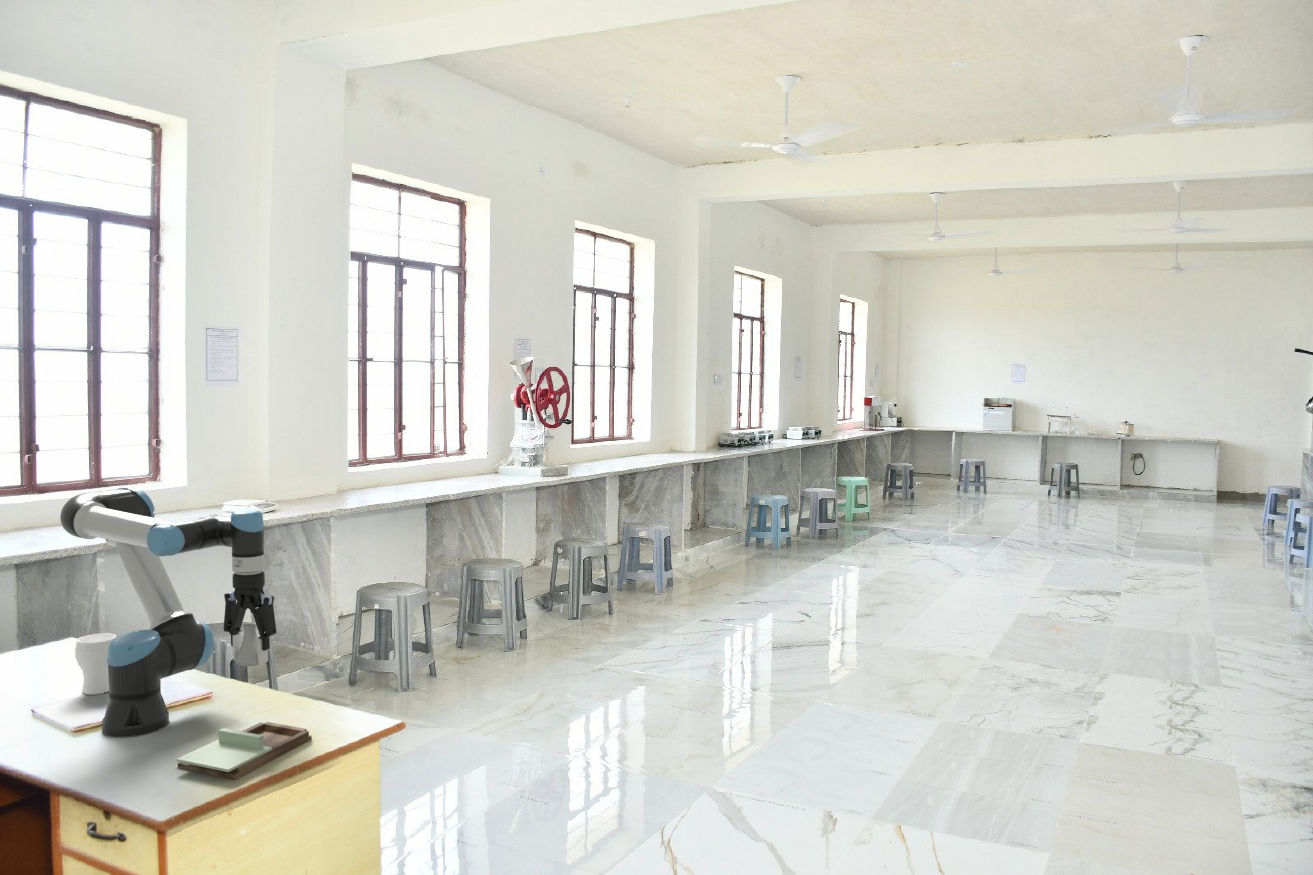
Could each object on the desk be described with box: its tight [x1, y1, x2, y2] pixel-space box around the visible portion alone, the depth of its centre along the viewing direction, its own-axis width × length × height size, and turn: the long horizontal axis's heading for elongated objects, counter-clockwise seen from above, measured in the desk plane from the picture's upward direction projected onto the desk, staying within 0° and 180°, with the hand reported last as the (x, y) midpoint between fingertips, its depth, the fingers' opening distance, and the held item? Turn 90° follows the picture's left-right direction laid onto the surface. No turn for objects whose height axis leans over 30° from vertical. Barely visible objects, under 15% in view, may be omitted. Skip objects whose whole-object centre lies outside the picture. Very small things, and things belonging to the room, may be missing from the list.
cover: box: [176, 727, 272, 772], centre depth 226 cm, size 15×14×4 cm
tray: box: [177, 721, 313, 780], centre depth 234 cm, size 17×25×2 cm
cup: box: [74, 632, 118, 695], centre depth 275 cm, size 11×11×15 cm
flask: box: [234, 622, 260, 667], centre depth 248 cm, size 7×7×10 cm
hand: (250, 660), depth 249 cm, fingers closed on flask, 7 cm apart
